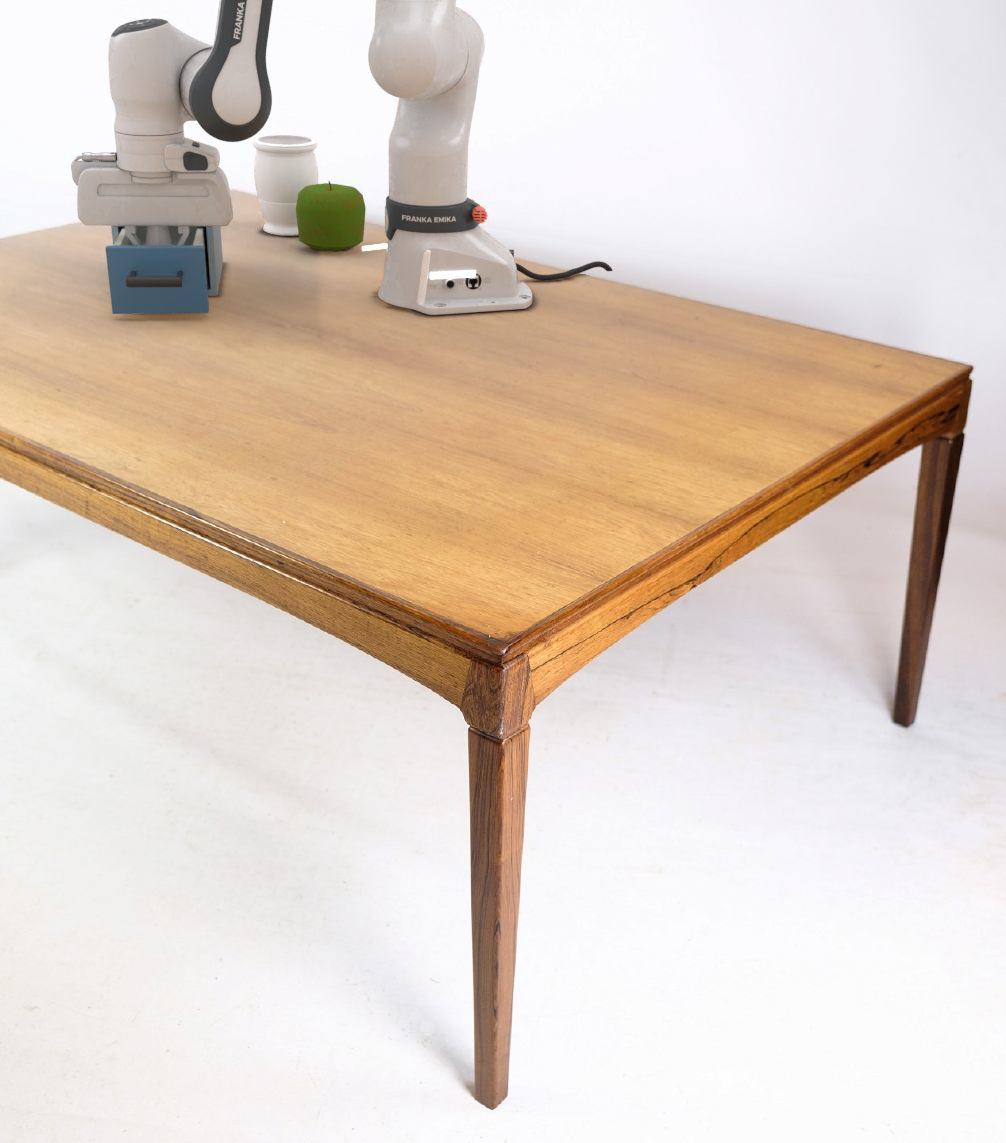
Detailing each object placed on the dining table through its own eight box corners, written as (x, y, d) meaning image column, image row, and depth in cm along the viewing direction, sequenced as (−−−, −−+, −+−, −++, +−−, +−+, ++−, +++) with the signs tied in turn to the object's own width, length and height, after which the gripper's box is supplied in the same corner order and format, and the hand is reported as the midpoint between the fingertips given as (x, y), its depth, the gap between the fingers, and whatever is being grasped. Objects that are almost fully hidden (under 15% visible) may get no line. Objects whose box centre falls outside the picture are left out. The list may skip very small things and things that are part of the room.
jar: (325, 226, 225) (323, 136, 218) (312, 240, 216) (309, 147, 209) (265, 222, 226) (261, 132, 219) (249, 236, 217) (244, 143, 210)
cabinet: (217, 296, 186) (212, 220, 180) (118, 296, 184) (110, 219, 178) (222, 263, 201) (218, 192, 196) (131, 263, 199) (124, 192, 194)
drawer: (206, 324, 171) (201, 257, 166) (108, 325, 169) (100, 257, 165) (214, 279, 189) (210, 218, 185) (126, 280, 188) (119, 218, 183)
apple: (296, 257, 206) (293, 187, 201) (298, 240, 216) (296, 173, 210) (366, 257, 207) (365, 188, 202) (365, 241, 217) (364, 174, 212)
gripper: (65, 156, 166) (78, 263, 172) (228, 158, 169) (234, 263, 175) (72, 147, 171) (84, 251, 178) (230, 149, 174) (236, 251, 181)
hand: (160, 257), depth 176 cm, fingers closed on flask, 3 cm apart
